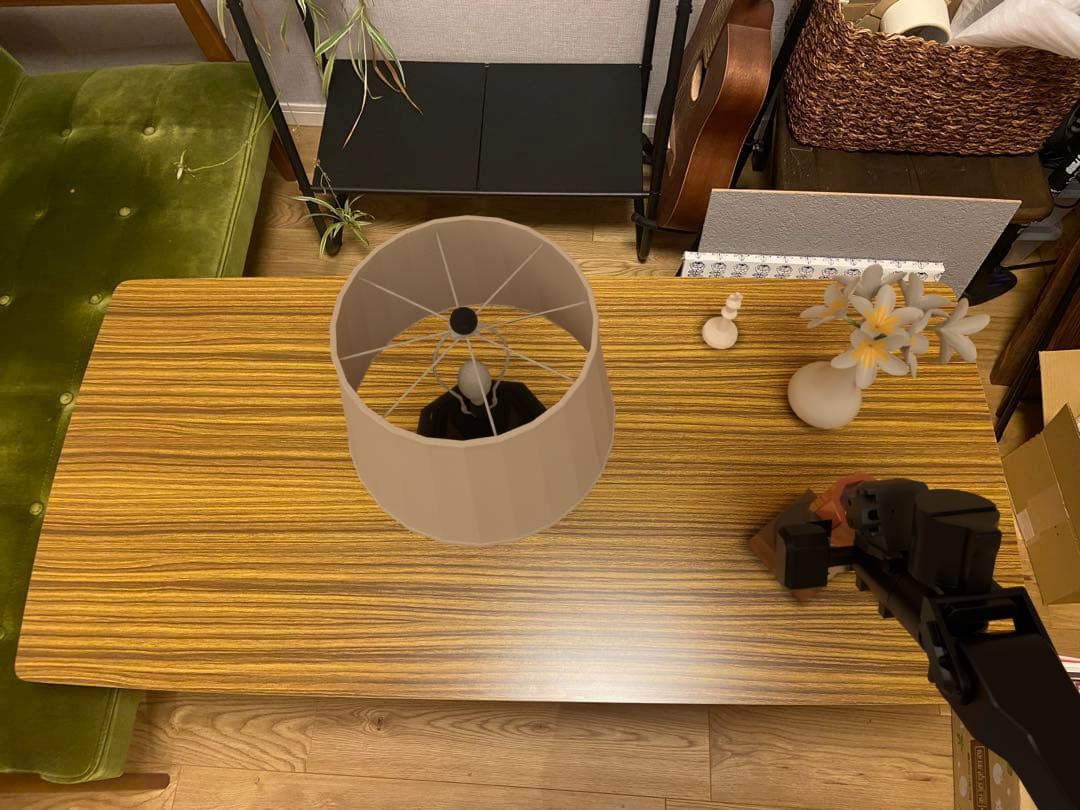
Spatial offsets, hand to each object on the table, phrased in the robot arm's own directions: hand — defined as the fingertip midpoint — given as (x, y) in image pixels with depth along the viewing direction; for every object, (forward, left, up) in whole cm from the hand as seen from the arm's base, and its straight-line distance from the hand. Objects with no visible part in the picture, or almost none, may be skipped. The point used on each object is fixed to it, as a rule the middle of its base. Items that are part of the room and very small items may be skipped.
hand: (835, 509), depth 75 cm
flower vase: (+11, -16, -13) cm, 24 cm away
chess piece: (+27, -13, -13) cm, 33 cm away
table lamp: (+29, +25, -13) cm, 40 cm away
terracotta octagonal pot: (-1, +1, -2) cm, 2 cm away
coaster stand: (-1, +1, -13) cm, 13 cm away
